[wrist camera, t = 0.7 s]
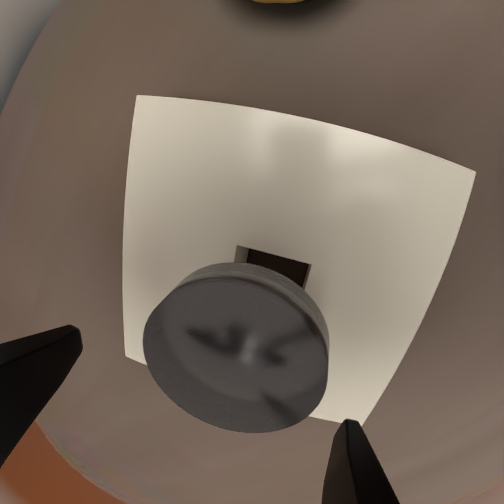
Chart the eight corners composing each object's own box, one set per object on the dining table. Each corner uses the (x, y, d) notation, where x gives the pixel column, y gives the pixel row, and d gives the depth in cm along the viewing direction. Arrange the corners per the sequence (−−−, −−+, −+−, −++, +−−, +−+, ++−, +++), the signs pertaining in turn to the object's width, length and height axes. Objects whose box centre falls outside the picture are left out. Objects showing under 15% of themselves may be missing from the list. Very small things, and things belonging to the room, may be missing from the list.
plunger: (349, 252, 15) (357, 320, 9) (309, 364, 17) (296, 448, 12) (207, 215, 16) (143, 260, 10) (192, 330, 18) (144, 399, 13)
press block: (449, 164, 16) (476, 171, 13) (360, 389, 23) (361, 426, 20) (169, 99, 19) (136, 95, 15) (149, 328, 26) (125, 356, 22)
